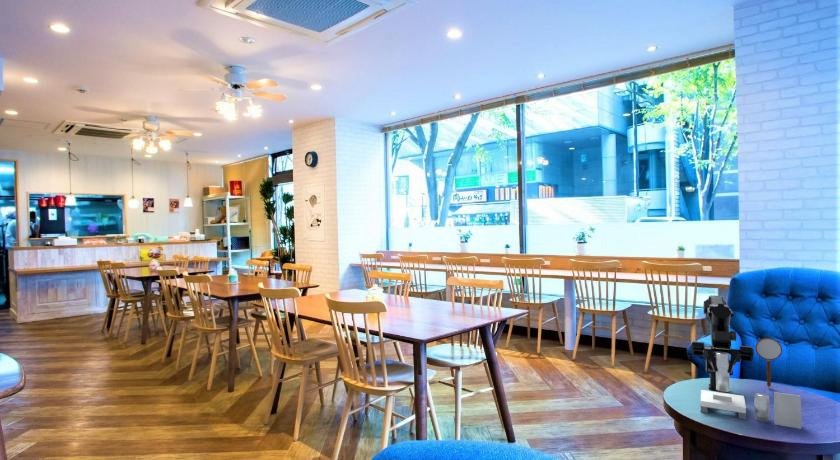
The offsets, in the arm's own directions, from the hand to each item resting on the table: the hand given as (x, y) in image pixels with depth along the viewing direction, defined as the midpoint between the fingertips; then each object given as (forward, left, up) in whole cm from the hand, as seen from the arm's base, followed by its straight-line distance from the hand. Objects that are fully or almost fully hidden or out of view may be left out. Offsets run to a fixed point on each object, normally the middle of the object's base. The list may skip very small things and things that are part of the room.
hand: (722, 372), depth 165 cm
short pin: (+3, +11, -13) cm, 17 cm away
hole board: (-1, 0, -13) cm, 13 cm away
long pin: (-1, 0, -7) cm, 7 cm away
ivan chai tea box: (+4, +18, -14) cm, 23 cm away
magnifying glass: (-35, +16, -14) cm, 41 cm away
